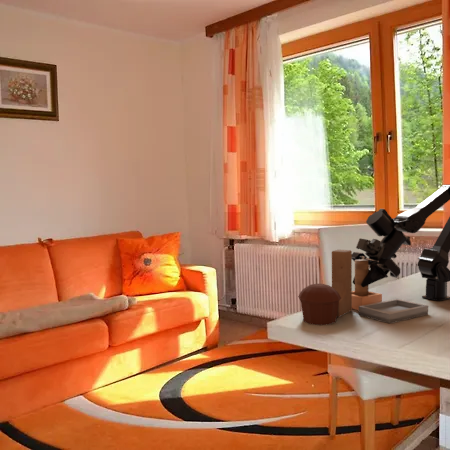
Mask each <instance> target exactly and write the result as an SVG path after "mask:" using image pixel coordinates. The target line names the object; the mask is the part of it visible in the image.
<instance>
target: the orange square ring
mask: <svg viewBox="0 0 450 450" xmlns="http://www.w3.org/2000/svg"><path fill="white" fill-rule="evenodd" d="M378 302H383V293H378V292H373V291H369V290H368V296H363V297H361V296H357V295H355V290H352V309H353V310H356V311H359V306H363V305H368V304H373V303H378Z"/></svg>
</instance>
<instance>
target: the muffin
mask: <svg viewBox="0 0 450 450" xmlns="http://www.w3.org/2000/svg"><path fill="white" fill-rule="evenodd" d="M298 299H299V301H300V306H301V313H302V319H303V321H304V323H306V324H309V325H315V326H316V325H317V326H325V325H326V324H327V325H332V324H334V323H336V322H337V318H338V317H337V311H338V305H339V301H340V299H341V297H340V295H339V293H338V292H337V291H336V290H335V289H334V288H332V285H331V286H330V284H329V285H328V284H325V283H313V284H309V285H307V286H305V287H304V288H303V289H302V290H301V291H300V293H299V294H298Z"/></svg>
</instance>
